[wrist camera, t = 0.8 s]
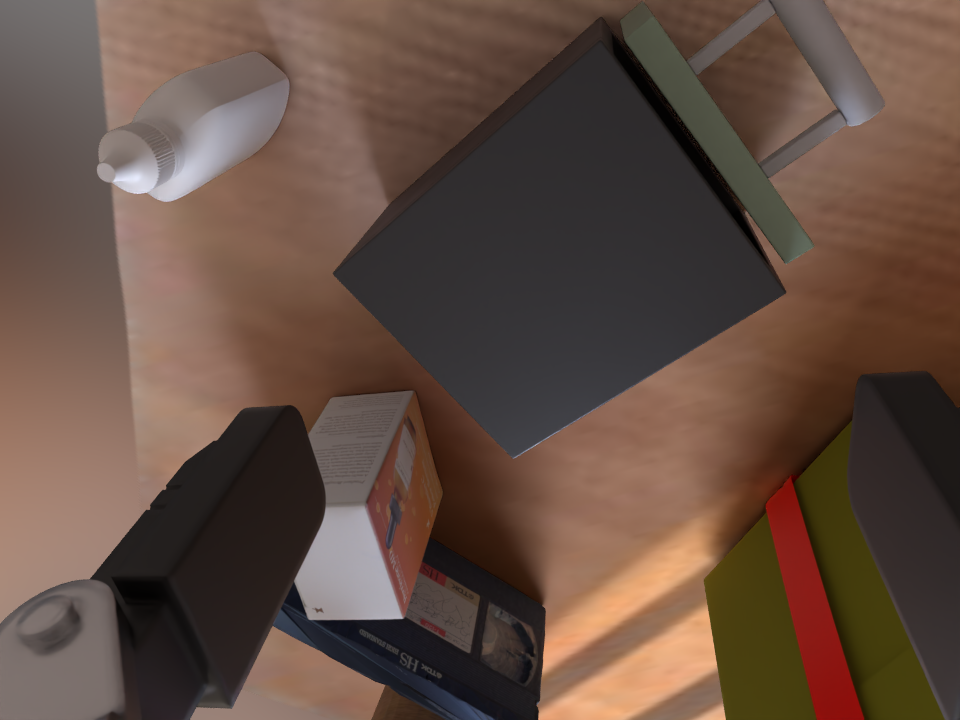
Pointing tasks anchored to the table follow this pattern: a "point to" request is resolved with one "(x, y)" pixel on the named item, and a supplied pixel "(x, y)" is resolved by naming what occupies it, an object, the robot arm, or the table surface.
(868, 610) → the gift box
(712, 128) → the drawer
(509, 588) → the vhs cassette tape
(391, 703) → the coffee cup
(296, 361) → the table surface
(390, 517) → the small box
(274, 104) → the eye dropper bottle
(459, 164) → the cabinet
